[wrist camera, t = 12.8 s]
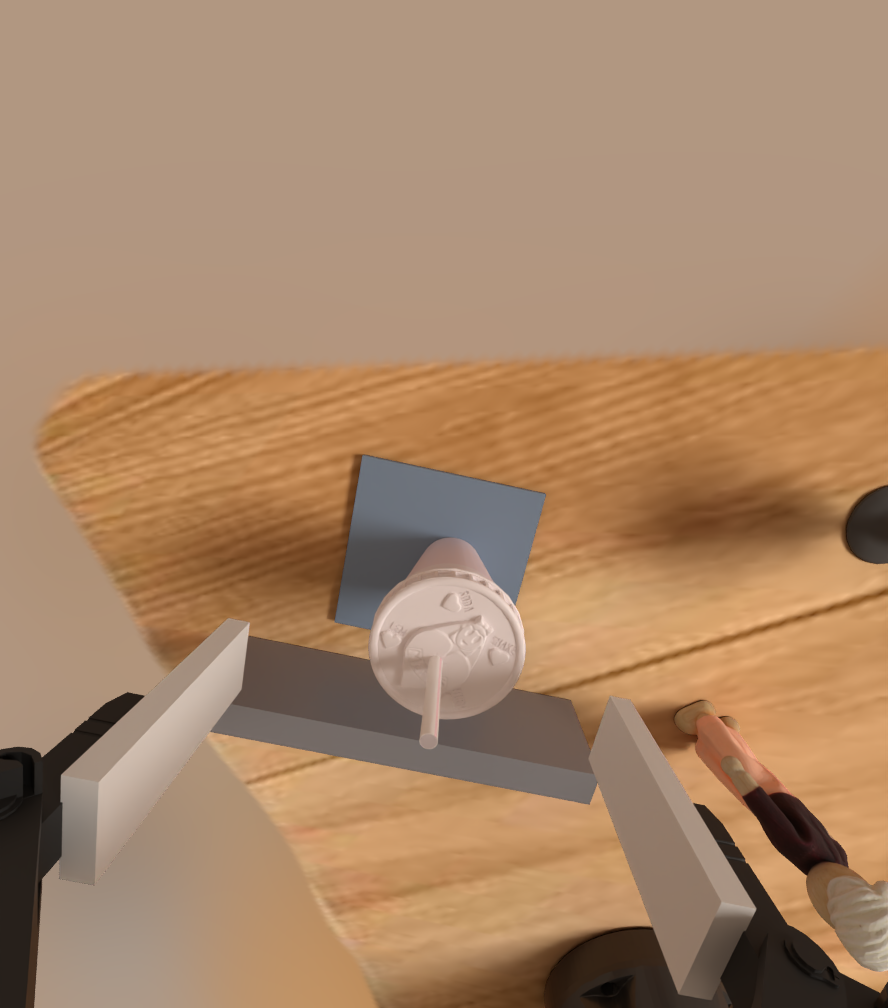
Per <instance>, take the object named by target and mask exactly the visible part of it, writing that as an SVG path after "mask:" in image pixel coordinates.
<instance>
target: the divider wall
mask: <svg viewBox="0 0 888 1008" xmlns="http://www.w3.org/2000/svg"><path fill="white" fill-rule="evenodd" d="M421 723H422V715H420V714H417V713H415V712H413V711H410V710H409V709H407V708H405V707H403V706H402V705H400V704H399V703H397V702H396V701H395V700H394V699H393V698H391V697H390V696H389V695H388V694H387V692H386V691H385V690H384V689H383V688H382V686H381V685H380V683H379V682H378V680H377V678H376V676H375V674H374V672H373V669H372V666H371V663H370V660H366V659H361V658H356V657H351V656H346V655H341V654H336V653H331V652H326V651H321V650H316V649H311V648H306V647H301V646H296V645H291V644H286V643H281V642H276V641H271V640H266V639H261V638H256V637H251V636H248V641H247V649H246V657H245V665H244V674H243V682H242V690H241V691H240V692H239V694H238V695H237V696H236V698H235V699H234V700H233V702H232V703H231V704H230V706H229V707H228V708H227V710H226V711H225V712H224V714H223V715H222V716H221V718H220V719H219V720H218V722H217V723H216V724H215V726H214V727H213V728H212V730H211V731H210V732H214V733H219V734H224V735H229V736H235V737H240V738H245V739H250V740H255V741H261V742H266V743H271V744H276V745H282V746H287V747H292V748H297V749H302V750H308V751H313V752H318V753H323V754H328V755H334V756H339V757H344V758H349V759H355V760H360V761H365V762H370V763H375V764H381V765H386V766H391V767H396V768H401V769H407V770H412V771H417V772H422V773H428V774H433V775H438V776H443V777H448V778H454V779H459V780H464V781H469V782H474V783H480V784H485V785H490V786H495V787H501V788H506V789H511V790H516V791H521V792H527V793H532V794H537V795H542V796H547V797H553V798H558V799H563V800H568V801H574V802H579V803H584V804H589V805H590V802H591V799H592V796H593V794H594V791H595V788H596V786H597V780H596V777H595V775H594V772H593V770H592V767H591V764H590V762H589V759H588V758H589V755H590V752H591V751H590V748H589V746H588V743H587V741H586V738H585V736H584V733H583V730H582V728H581V725H580V723H579V720H578V718H577V715H576V712H575V710H574V707H573V705H572V702H571V700H567V699H562V698H557V697H552V696H547V695H542V694H537V693H532V692H527V691H522V690H517V689H512V690H511V691H510V692H509V693H508V694H507V696H506V697H505V698H503V699H502V700H501V701H500V702H499V703H497V704H496V705H495V706H493V707H491V708H490V709H488V710H486V711H484V712H482V713H479V714H477V715H474V716H470V717H466V718H460V719H439V730H438V743H437V746H436V747H435V748H433V749H425V748H423V747H422V746H421V745H420V742H419V740H420V731H421Z"/></svg>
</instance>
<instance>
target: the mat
mask: <svg viewBox="0 0 888 1008" xmlns="http://www.w3.org/2000/svg"><path fill="white" fill-rule="evenodd" d="M545 497H546V494H545V493H541V492H537V491H532V490H527V489H523V488H518V487H513V486H509V485H504V484H499V483H495V482H490V481H485V480H481V479H476V478H471V477H467V476H462V475H457V474H453V473H448V472H443V471H439V470H434V469H429V468H425V467H420V466H415V465H411V464H406V463H401V462H397V461H392V460H387V459H383V458H378V457H373V456H369V455H363V456H362V462H361V468H360V474H359V480H358V485H357V491H356V497H355V503H354V509H353V515H352V521H351V527H350V533H349V539H348V545H347V551H346V557H345V563H344V569H343V575H342V581H341V587H340V593H339V599H338V605H337V611H336V617H335V622H336V623H341V624H346V625H351V626H355V627H360V628H365V629H370V630H371V628H372V625H373V621H374V616H375V613H376V611H377V609H378V608H379V606H380V604H381V602H382V600H383V598H384V597H385V596H386V595H387V594H388V593H389V592H390V591H391V590H392V589H393V588H394V587H395V586H396V585H397V584H398V583H400V582H401V581H403V580H405V579H406V578H407V576H408V575H409V574H410V572H411V571H412V569H413V568H414V566H415V565H416V563H417V562H418V560H419V559H420V558H421V556H422V555H423V553H424V552H425V550H426V549H427V548H428V547H429V546H430V545H431V544H432V543H433V542H435V541H437V540H439V539H442V538H449V537H452V538H458V539H462V540H464V541H466V542H467V543H469V544H470V545H471V546H472V547H473V548H474V549H475V550H476V552H477V553H478V555H479V557H480V559H481V561H482V562H483V564H484V566H485V568H486V570H487V571H488V573H489V575H490V577H491V579H492V580H493V582H494V583H495V584H496V585H497V586H499V587H500V588H501V589H502V590H503V591H504V592H505V593H506V594H507V595H508V596H509V597H510V599H511V600H512V602H513V604H514V605H516V601H517V597H518V594H519V590H520V587H521V583H522V579H523V576H524V572H525V569H526V565H527V561H528V558H529V554H530V551H531V547H532V543H533V540H534V536H535V533H536V529H537V525H538V522H539V518H540V515H541V511H542V507H543V504H544V500H545Z"/></svg>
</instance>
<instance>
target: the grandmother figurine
mask: <svg viewBox="0 0 888 1008" xmlns="http://www.w3.org/2000/svg"><path fill="white" fill-rule="evenodd" d="M674 721H675V724H676V725H677V727H678V728H679V729H680V730H681V731H683V732H684V733H687V734H691V735H692V734H696V735H697V736H698V740H697V743H696V746H695V750H696V753H697V755H698V756H699V757H700V758H701V760H702V761H703V762H704V763H705V764H706V766H707V767H708V768H709V769H710V770H711V771H712V772H713V773H714V775H715V776H716V777H717V778H718V779H719V780H720V781H721V782H722V783H723V784H724V786H725V787H726V788H727V789H728V790H729V791H730V792H731V793H732V794H733V795H734V796H735V797H736V798H737V799H738V800H739V801H740V802H741V803H742V804H743V805H744V806H745V807H747V808H748V809H749V810H750V811H751V812H752V813H753V814H754V815H755V816H756V817H757V819H758V820H759V822H760V824H761V826H762V828H763V830H764V831H765V833H766V835H767V837H768V838H769V840H770V841H771V843H772V844H773V846H774V847H775V848H776V849H777V850H778V851H779V852H780V853H781V854H782V855H783V856H785V857H786V858H787V859H788V860H789V861H790V862H792V863H793V864H794V865H795V866H796V867H797V868H798V869H799V870H801V871H802V872H803V873H804V874H805V875H807V879H806V886H807V892H808V895H809V898H810V900H811V902H812V904H813V906H814V907H815V909H816V911H817V912H818V913H819V915H820V916H821V917H822V918H823V919H824V920H825V921H826V922H827V923H828V924H829V925H830V926H831V927H832V928H834V929H835V932H836V934H837V936H838V937H839V939H840V941H841V942H842V944H843V945H844V947H845V948H846V949H847V951H848V952H849V953H850V955H851V956H852V957H853V958H854V959H855V960H856V961H857V962H858V963H859V964H860V965H861V966H862V967H864V968H868V969H870V970H873V971H878V972H881V971H886V970H888V883H887V882H886V881H877V882H876V883H875V884H874V885H870V884H868V883H867V882H866V881H865V880H864V879H863V878H862V877H861V876H860V875H858V874H857V873H856V872H854V871H853V870H851V869H849V866H848V862H847V855H846V852H845V851H844V849H843V848H842V847H841V845H840V844H839V843H838V842H837V841H835V840H834V839H833V837H832V836H830V835H829V833H828V831H827V830H826V828H825V827H824V826H823V825H822V824H821V822H820V821H819V820H818V819H817V818H816V817H815V816H814V815H813V814H812V813H811V812H810V811H809V810H808V809H807V808H806V807H805V806H804V804H803V803H802V802H801V801H800V800H799V799H798V798H796V797H794V796H793V795H792V794H791V793H790V791H789V790H788V789H787V788H786V787H785V786H784V785H783V784H782V783H781V782H780V781H779V780H778V779H777V777H776V776H775V775H774V774H773V773H772V772H771V771H769V770H768V769H767V768H766V767H765V766H763V765H762V764H761V763H759V761H758V760H757V758H756V756H755V755H754V753H753V752H752V750H751V749H750V747H749V746H748V745H747V743H746V742H745V740H744V739H743V738H742V736H741V735H740V734H739V732H740V726H739V724H738V722H737V721H736V720H735V719H733V718H731V717H722V718H721V719H719V718H718V717H716V711H715V708H714V706H713V705H712V704H711V703H710V702H708V701H699V702H696V703H694V704H692V705H690V706H687V707H685V708H683V709H681V710H680V711H678V712H677V714H676V715H675V718H674Z"/></svg>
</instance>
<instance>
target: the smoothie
mask: <svg viewBox="0 0 888 1008" xmlns="http://www.w3.org/2000/svg"><path fill="white" fill-rule="evenodd" d="M525 653H526V646H525V638H524V628H523V625H522V621H521V618H520V614H519V612H518V610H517V608H516V607H515V605H514V604H513V602H512V600H511V599H510V597H509V596H508V595H507V594H506V593H505V592H504V591H503V590H502V589H501V588H500V587H499V586H497V585H496V584H495V583H494V582H493V580H492V579H491V577H490V575H489V573H488V571H487V570H486V568H485V566H484V564H483V562H482V561H481V559H480V557H479V555H478V553H477V552H476V550H475V549H474V548H473V547H472V546H471V545H470V544H469V543H467V542H466V541H464V540H462V539H458V538H452V537H449V538H442V539H439V540H437V541H435V542H433V543H432V544H431V545H430V546H429V547H428V548H427V549H426V550H425V552H424V553H423V555H422V556H421V558H420V559H419V560H418V562H417V563H416V565H415V566H414V568H413V569H412V571H411V572H410V574H409V575H408V576H407V578H406V579H405V580H403V581H401V582H400V583H398V584H397V585H396V586H395V587H394V588H393V589H392V590H391V591H390V592H389V593H388V594H387V595H386V596H385V597H384V598H383V600H382V602H381V604H380V606H379V608H378V609H377V611H376V613H375V616H374V621H373V625H372V628H371V632H370V636H369V658H370V663H371V666H372V669H373V672H374V674H375V676H376V678H377V680H378V682H379V683H380V685H381V686H382V688H383V689H384V690H385V691H386V692H387V694H388V695H389V696H390V697H391V698H393V699H394V700H395V701H396V702H397V703H399V704H400V705H402V706H403V707H405V708H407V709H409V710H410V711H413V712H415V713H417V714H420V715H422V723H421V731H420V740H419V742H420V745H421V746H422V747H423V748H425V749H433V748H435V747H436V746H437V743H438V730H439V719H460V718H466V717H470V716H474V715H477V714H479V713H482V712H484V711H486V710H488V709H490V708H491V707H493V706H495V705H496V704H497V703H499V702H500V701H501V700H502V699H503V698H505V697H506V696H507V694H508V693H509V692H510V691H511V690H512V688H513V687H514V686H515V684H516V682H517V681H518V679H519V677H520V674H521V672H522V669H523V666H524V661H525Z"/></svg>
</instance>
